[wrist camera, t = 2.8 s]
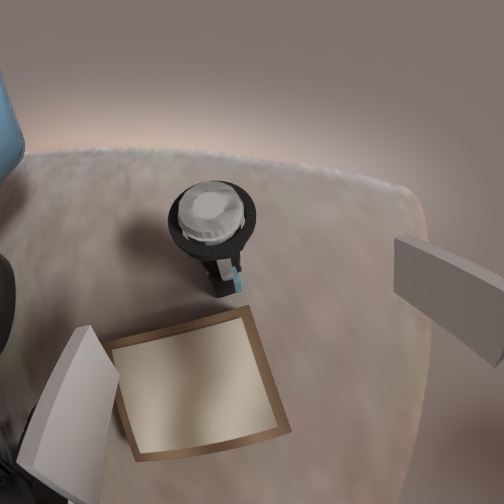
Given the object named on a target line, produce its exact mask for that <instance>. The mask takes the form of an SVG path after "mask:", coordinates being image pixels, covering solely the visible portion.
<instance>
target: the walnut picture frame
mask: <svg viewBox="0 0 504 504" xmlns="http://www.w3.org/2000/svg"><path fill="white" fill-rule="evenodd" d="M103 343H104V349H105V352H106V354H107V355H108V357H109V359H110V360H111V362H112V363H113V365H114V367H115V368H116V370H117V371H118V373H119V374H120V377H119V381H118V385H117V390H116V394H115V400H116V403H117V407H118V411H119V414H120V417H121V421H122V424H123V427H124V430H125V433H126V436H127V439H128V442H129V445H130V448H131V451H132V453H133V456H134V459H135V461H136V462H145V461H159V460H169V459H178V458H185V457H192V456H198V455H204V454H210V453H215V452H220V451H225V450H229V449H234V448H238V447H242V446H246V445H250V444H254V443H257V442H261V441H264V440H268V439H271V438H274V437H278V436H281V435H284V434H287V433H290V432H292V431H291V428H290V425H289V422H288V419H287V417H286V414H285V411H284V408H283V405H282V402H281V399H280V396H279V394H278V391H277V388H276V385H275V382H274V379H273V376H272V373H271V370H270V367H269V364H268V361H267V358H266V355H265V352H264V349H263V346H262V343H261V340H260V337H259V334H258V331H257V328H256V325H255V322H254V319H253V316H252V313H251V310H250V307H249V305H246V306H243V307H240V308H236V309H233V310H229V311H226V312H222V313H219V314H215V315H212V316H208V317H204V318H201V319H197V320H193V321H189V322H186V323H182V324H178V325H174V326H170V327H166V328H162V329H158V330H154V331H150V332H146V333H142V334H137V335H133V336H129V337H124V338H120V339H115V340H111V341H106V342H103Z"/></svg>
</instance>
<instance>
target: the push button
mask: <svg viewBox="0 0 504 504" xmlns="http://www.w3.org/2000/svg"><path fill="white" fill-rule="evenodd" d="M243 217H244V218H245V224H244V226H243V228H242V229H241V222H242V219H243ZM255 224H256V209H255V205H254V202H253V200H252V199H251V197H250V196H249V195H248V193H247V192H246V191H244V190H243V189H242V188H240V187H239V186H237V185H235V184H232V183H229V182H224V181H207V182H202V183H199V184H196V185H194V186H192V187H190V188H188V189H187V190H185V191H184V192H183V193H181V194H180V195H179V196H178V198H177V199H176V200H175V201H174V203H173V205H172V206H171V209H170V211H169V215H168V228H169V232H170V234H171V236H172V238H173V240H174V242H175V243H176V244H177V245H178V247H180V248H181V249H182V250H183V251H185V252H186V253H188V254H189V256H191V257H193V258H195V259H198V260H201V261H202V263H203V266H204V268H205V270H206V273H207V276H208V278H209V275H208V274H210V275H211V279H212V282H213V285H214V288H215V291H216V293H217V296H218V298H221V297H224V296H227V295H230V294H233V293H236V292H239V291H242V289H241V282H240V279H239V276H238V273H237V272H240V271H241V269H242V267H241V262H240V251H242V250H243V248H244V246H245V244H246V242H247V241H248V239H249V238H250V236H251V235H252V233H253V231H254V228H255ZM182 230H183V231H184V232H185V234H186V235H187V236H188V239H189V240H190V241H189V240H187V239H186V238H185V237H184V236H183V234H182ZM209 280H210V278H209Z"/></svg>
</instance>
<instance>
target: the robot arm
mask: <svg viewBox="0 0 504 504" xmlns="http://www.w3.org/2000/svg"><path fill="white" fill-rule="evenodd" d="M24 152H25V141H24V137H23V134H22V132H21V129H20V126H19V124H18V121H17V118H16V115H15V113H14V110H13V107H12V104H11V102H10V98H9V95H8V92H7V89H6V87H5V84H4V80H3V77H2V74H1V71H0V187H1V184H2V182H3V181H4V180H5V179H6V177H7V176H8V175H9V174H10V173H11V172H12V171H13V169H14V168H15V167H16V166H17V165H18V164H19V163H20V161H21V160H22V158H23V155H24ZM394 293H396V294H397V295H399V296H400V297H402V298H403V299H404V300H406V301H407V302H409V303H410V304H411V305H413V306H414V307H416V308H417V309H418V310H420V311H421V312H423V313H424V314H425V315H427V316H428V317H429V318H431V319H432V320H433V321H435V322H436V323H438V324H439V325H440V326H442V327H443V328H444V329H446V330H447V331H448V332H449V333H451V334H452V335H454V336H455V337H456V338H458V339H459V340H460V341H461V342H463V343H464V344H465V345H467V346H468V347H469V348H470V349H472V350H473V351H474V352H475V353H477V354H478V355H479V356H480V357H482V358H483V359H484V360H485V361H487V362H488V363H489V364H490V365H491V366H493V367H494V368H496V367H497V366H498V364H499V363H500V362H501V361H502V360H503V359H504V278H503V277H501V276H499V275H497V274H495V273H493V272H491V271H489V270H487V269H485V268H483V267H481V266H478V265H477V264H474V263H472V262H470V261H468V260H466V259H464V258H462V257H459V256H457V255H455V254H453V253H450V252H448V251H446V250H444V249H441V248H439V247H437V246H434V245H432V244H430V243H427V242H425V241H423V240H420V239H418V238H415V237H413V236H410V235H408V234H404V235H401V236H398V237H395V238H394ZM14 308H15V280H14V275H13V271H12V268H11V266H10V264H9V262H8V261H7V260H6V259H5V258H4V257H3V256H1V255H0V353H1V352H2V350H3V348H4V346H5V344H6V342H7V339H8V336H9V333H10V330H11V326H12V321H13V316H14ZM119 377H120V374H119V373H118V371H117V370H116V368H115V367H114V365H113V363H112V362H111V360H110V359H109V357H108V355H107V354H106V352H105V350H104V349H103V347H102V345H101V343H100V342H99V340H98V338H97V336H96V334H95V333H94V331H93V329H92V327H91V325H87V326H82V327H78V328H76V329H75V331H74V332H73V334H72V336H71V338H70V339H69V341H68V343H67V345H66V347H65V348H64V350H63V352H62V354H61V356H60V358H59V360H58V362H57V364H56V366H55V368H54V370H53V372H52V374H51V376H50V378H49V380H48V382H47V384H46V386H45V388H44V390H43V393H42V395H41V397H40V399H39V401H38V403H37V404H36V405H35V406H34V408H33V409H32V411H31V413H30V415H29V418H28V420H27V422H28V423H26V425H25V428H24V432H23V433H22V436H21V438H20V441H19V444H18V447H17V450H16V453H15V456H14V459H13V462H12V465H11V466H10V465H9V464H8V463H7V462H6V461H5V460H3V459H2V458H1V457H0V504H67V503H68V500H69V501H71V502H73V503H75V504H99V502H100V489H101V479H102V470H103V462H104V455H105V448H106V441H107V435H108V429H109V424H110V418H111V413H112V408H113V403H114V399H115V394H116V390H117V385H118V381H119Z"/></svg>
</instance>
